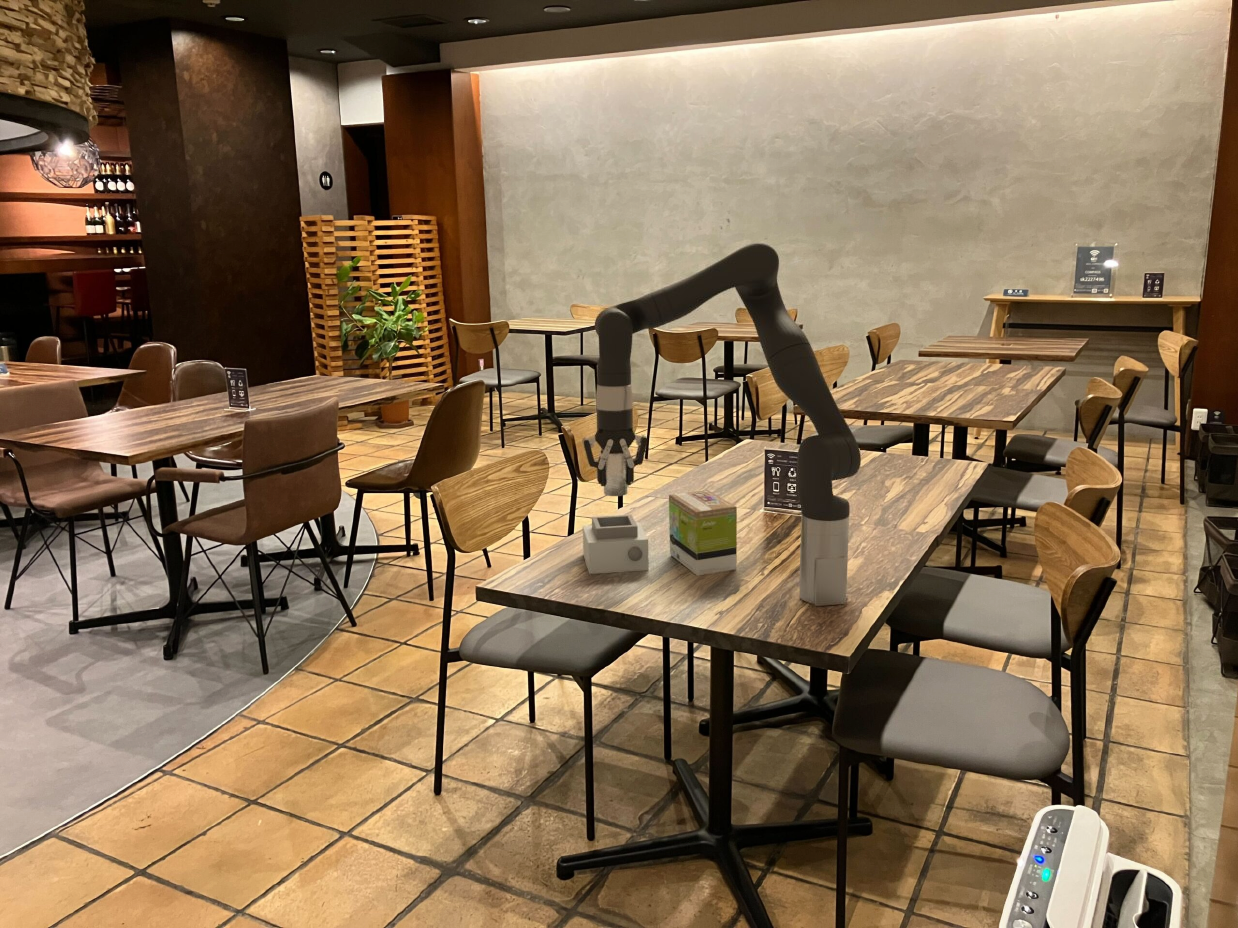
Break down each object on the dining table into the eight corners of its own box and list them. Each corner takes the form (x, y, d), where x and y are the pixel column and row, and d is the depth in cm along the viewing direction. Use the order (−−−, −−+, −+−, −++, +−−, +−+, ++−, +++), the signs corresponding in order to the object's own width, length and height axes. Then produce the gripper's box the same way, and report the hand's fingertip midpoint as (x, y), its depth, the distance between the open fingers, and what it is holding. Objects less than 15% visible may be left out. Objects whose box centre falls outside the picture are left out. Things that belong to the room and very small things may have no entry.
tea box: (668, 555, 221) (667, 493, 218) (708, 550, 225) (708, 488, 221) (696, 576, 207) (696, 510, 204) (738, 570, 211) (738, 504, 207)
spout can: (629, 495, 205) (628, 448, 202) (605, 496, 204) (604, 449, 201) (625, 489, 209) (624, 443, 207) (602, 490, 209) (601, 444, 206)
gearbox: (649, 571, 211) (648, 529, 209) (589, 575, 210) (588, 532, 207) (639, 551, 225) (638, 511, 222) (583, 554, 223) (582, 514, 221)
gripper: (582, 410, 197) (584, 491, 202) (651, 407, 199) (652, 487, 204) (578, 404, 205) (580, 482, 209) (645, 401, 207) (645, 478, 211)
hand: (615, 484), depth 206 cm, fingers closed on spout can, 5 cm apart
